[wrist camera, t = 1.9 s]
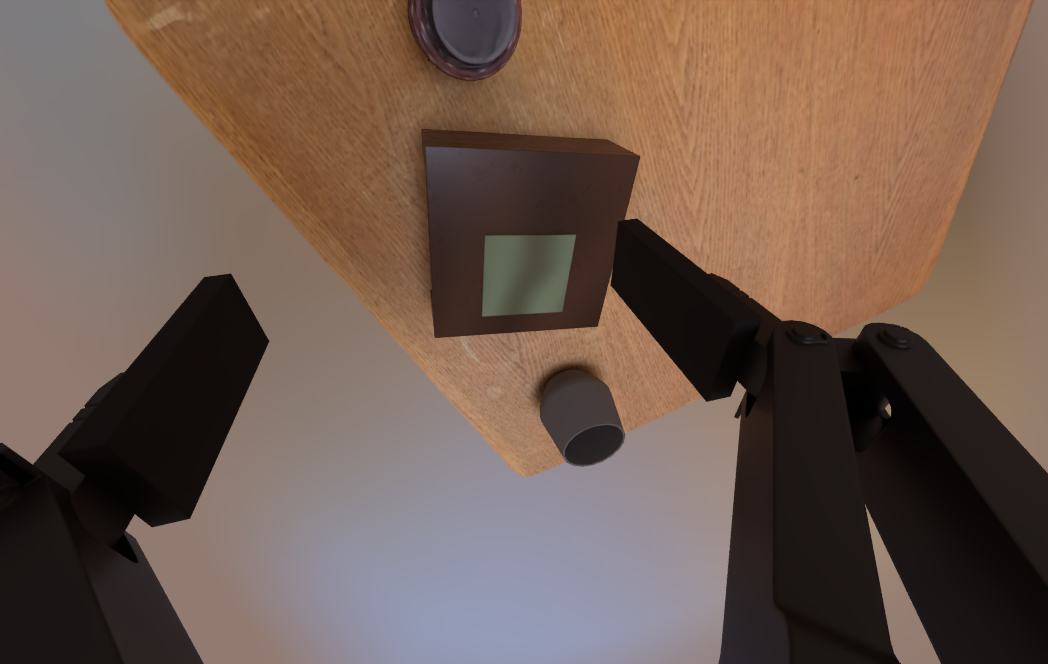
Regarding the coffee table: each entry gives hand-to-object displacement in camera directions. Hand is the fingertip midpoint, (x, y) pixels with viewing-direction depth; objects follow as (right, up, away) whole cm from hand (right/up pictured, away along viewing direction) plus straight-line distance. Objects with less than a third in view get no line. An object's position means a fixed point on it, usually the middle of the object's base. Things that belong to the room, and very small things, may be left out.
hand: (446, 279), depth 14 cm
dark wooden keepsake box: (+2, +8, +23) cm, 25 cm away
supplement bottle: (-2, +20, +13) cm, 24 cm away
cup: (+8, -9, +38) cm, 40 cm away
